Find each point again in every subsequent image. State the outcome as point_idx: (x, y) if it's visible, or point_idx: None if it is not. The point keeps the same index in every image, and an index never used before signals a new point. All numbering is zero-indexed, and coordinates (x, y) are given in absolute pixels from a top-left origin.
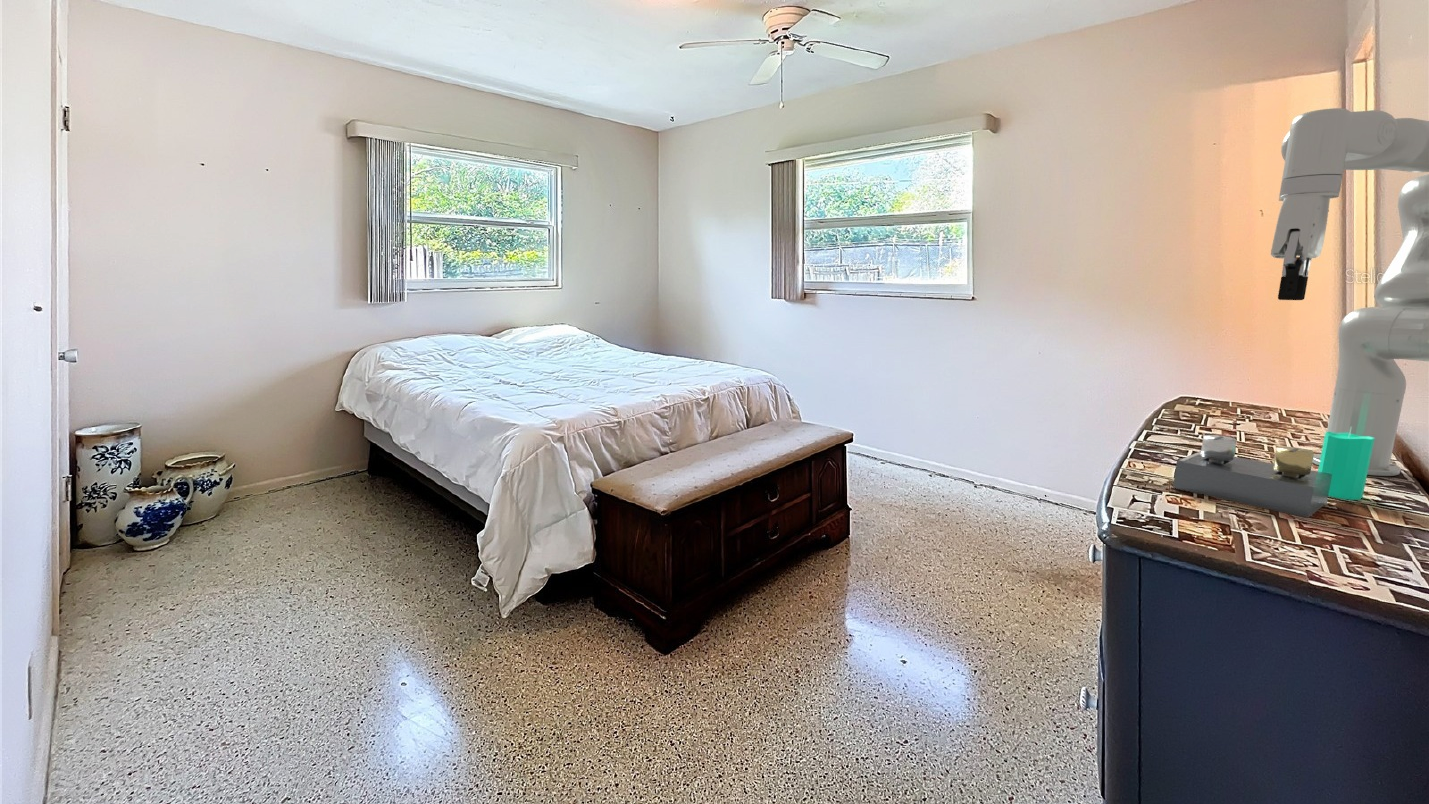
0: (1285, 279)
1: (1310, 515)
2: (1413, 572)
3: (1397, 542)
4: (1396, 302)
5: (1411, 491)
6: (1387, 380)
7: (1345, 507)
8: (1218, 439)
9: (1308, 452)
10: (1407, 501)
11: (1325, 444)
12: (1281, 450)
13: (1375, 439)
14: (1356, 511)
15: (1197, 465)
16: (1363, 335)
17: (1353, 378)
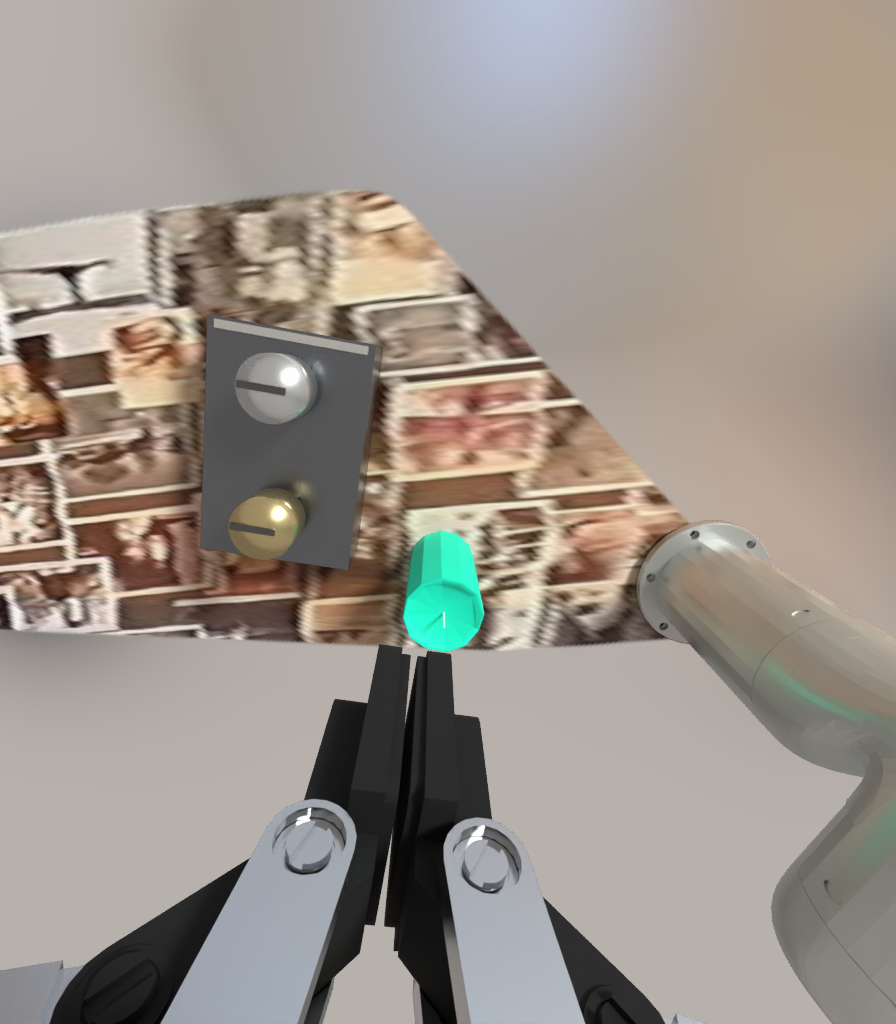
0: (348, 793)
1: None
2: (69, 628)
3: (199, 620)
4: None
5: (556, 646)
6: (782, 736)
7: (351, 570)
8: (246, 388)
9: (256, 551)
10: (473, 639)
11: (429, 572)
12: (235, 509)
13: (687, 637)
14: (338, 582)
15: (206, 358)
16: None
17: (798, 672)
